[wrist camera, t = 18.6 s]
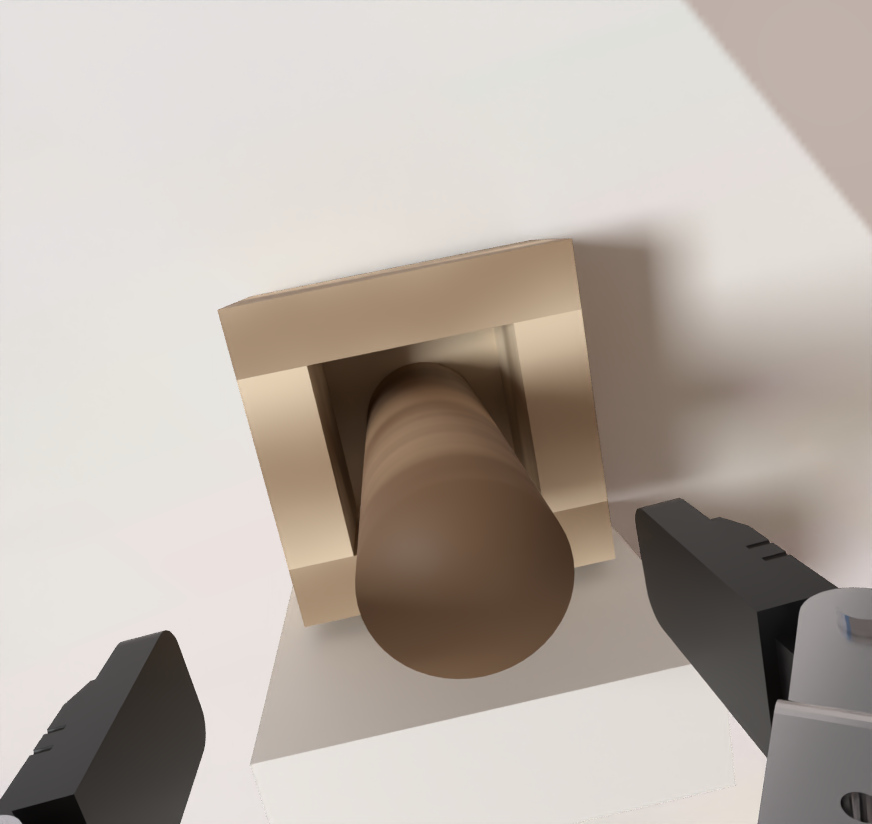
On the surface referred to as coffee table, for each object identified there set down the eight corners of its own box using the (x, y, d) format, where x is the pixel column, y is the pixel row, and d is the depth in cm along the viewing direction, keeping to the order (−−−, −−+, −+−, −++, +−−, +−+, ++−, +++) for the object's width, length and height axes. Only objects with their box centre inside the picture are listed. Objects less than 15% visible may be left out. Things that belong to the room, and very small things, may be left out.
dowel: (489, 458, 24) (587, 653, 13) (380, 481, 24) (381, 699, 13) (469, 351, 23) (558, 456, 12) (356, 374, 23) (332, 503, 12)
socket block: (571, 500, 26) (615, 558, 21) (317, 555, 26) (304, 627, 21) (531, 240, 24) (571, 238, 19) (250, 296, 23) (217, 310, 18)
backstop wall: (608, 596, 28) (735, 785, 18) (319, 660, 27) (290, 890, 17) (596, 507, 27) (723, 656, 17) (296, 572, 26) (250, 764, 16)
